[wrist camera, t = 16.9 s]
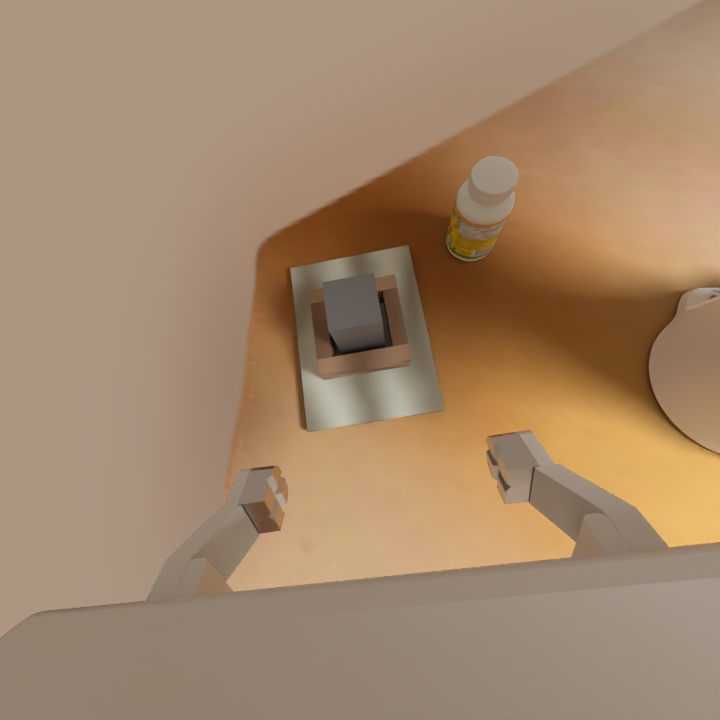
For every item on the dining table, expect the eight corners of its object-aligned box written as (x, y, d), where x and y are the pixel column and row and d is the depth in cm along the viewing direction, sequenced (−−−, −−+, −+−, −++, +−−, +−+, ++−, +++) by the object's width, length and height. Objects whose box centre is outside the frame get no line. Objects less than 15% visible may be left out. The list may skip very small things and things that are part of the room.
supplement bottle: (481, 269, 35) (513, 209, 26) (437, 252, 36) (452, 189, 27) (500, 231, 36) (537, 160, 27) (456, 216, 37) (477, 142, 28)
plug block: (378, 309, 34) (373, 272, 26) (385, 348, 33) (382, 321, 25) (338, 317, 34) (322, 282, 27) (343, 355, 33) (328, 331, 26)
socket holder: (408, 249, 37) (409, 227, 33) (442, 410, 32) (449, 406, 28) (293, 272, 38) (281, 253, 34) (309, 431, 33) (298, 431, 29)
